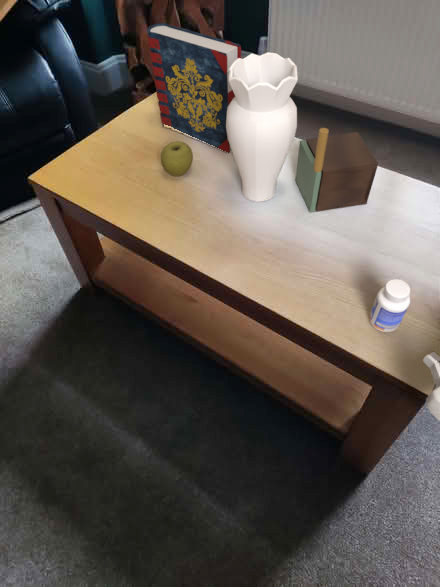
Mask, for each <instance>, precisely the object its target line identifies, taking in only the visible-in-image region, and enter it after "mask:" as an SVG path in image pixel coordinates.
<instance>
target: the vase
mask: <svg viewBox="0 0 440 587" xmlns="http://www.w3.org/2000/svg"><path fill="white" fill-rule="evenodd" d="M227 72H228V74H229V83H230V85H231V87H232V90H233V92H234V94H235V97H234V98H233V100H232V101H231V103H230V104H229V106H228V108H227V118H226V130H227V137H228V141H229V144H230V147H231V148H230V151H231V152H232V155H233V158H234V162H235V164H236V167H237V170H238V172H239V175H240V179H241V193H242V195H243V197H244V198H246V199H247V200H249V201H252V202H257V203H259V202H266V201H269V200H270V199H272V198H274V196H275V195H276V191H277V182H278V178H279V176H280V174H281V171H282V169H283V167H284V164H285V162H286V160H287V157H288V155H289V154H290V153H289V152H290V150H291V148H292V145H293V143H294V141H295V137H296V133H297V128H298V107H297V105H296V104H295V102H294V100H293V99H292V97H291V95H292V92H293V91H294V89H295V86H296V85H297V83H298V81H299V80H298V78H299V77H298V66H297V64H295V62H294V61H293V60H292V59H291V58H290V57H286V58H284V57H282V56H281V55H279V54H278V53H276V52H269V51H267V52H265V53H262V54H261V55H258V54H255V53H250V54H249V55H247V56H246V57H244V58H242V57H241V58H238V59H237V60H236V61H234V62H233V64H232V65H231V67H230V68H229V70H228V71H227Z"/></svg>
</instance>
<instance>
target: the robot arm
mask: <svg viewBox="0 0 440 587" xmlns="http://www.w3.org/2000/svg"><path fill="white" fill-rule="evenodd" d="M422 361H423V363H424V364H425V365H426V366H427V367H428V368H429V369H430V372H431V373H430V374H431V376H432V380H433V383H434V384H435V385H436V386H437V387H436V388H434V389H433V390H432V391H431V392H430V393H429V394H428V395H427V397H426V398H425V403H426V404H425V405H426V408H427V409H428V411H429V412H430V413H431V415H432V416H433V417H435V419H437V421H438V422H440V355H437V353H436V352H435V351H431V352H429V353H428V354H426V355H425V356H424V357H423V359H422Z"/></svg>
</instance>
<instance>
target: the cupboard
mask: <svg viewBox="0 0 440 587" xmlns="http://www.w3.org/2000/svg"><path fill="white" fill-rule="evenodd" d="M305 141H306V143H307V145H308V147H309V149H310V151H311V153H312V155H313V156H314V158H315V154H316V148H317V141H318V137H314V138H313V137H312V138H307V139H305ZM378 167H379V162H378V161H377V158H376V157H375V156H374V154H373V153H372V151H371V150H370V149H369V147H368V145H367V144H366V143H365V141H364V140H363V137H361V135H360V133H359V132H358V131H355V132H349V133H341V134H333V135H328V138H327V144H326V150H325V155H324V161H323V167H322V171H321V172H322V173H321V179H320V185H319V191H318V196H317V202H316V208H315V212H324V211H331V210H336V209H337V210H338V209H343V208H349V207H356V206H363V205H367V204H368V200H369V197H370V194H371V190H372V186H373V185H374V184H373V183H374V180H375V176H376V173H377V170H378Z"/></svg>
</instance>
